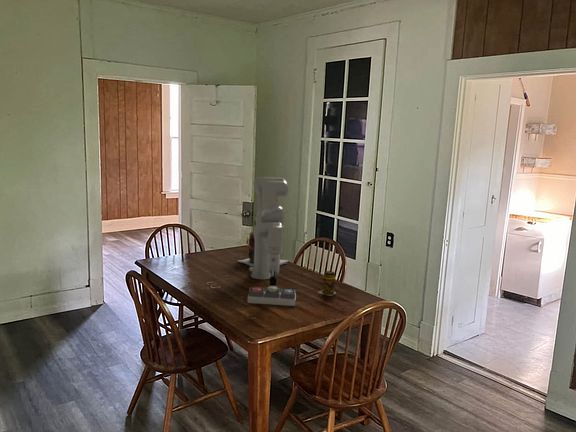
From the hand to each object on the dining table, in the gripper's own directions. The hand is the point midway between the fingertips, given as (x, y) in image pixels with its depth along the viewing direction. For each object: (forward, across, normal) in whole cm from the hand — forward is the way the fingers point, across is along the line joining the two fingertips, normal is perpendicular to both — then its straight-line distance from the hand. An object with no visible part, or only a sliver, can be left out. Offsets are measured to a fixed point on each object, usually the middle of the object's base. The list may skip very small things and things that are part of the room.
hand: (272, 284), depth 242 cm
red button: (+5, 0, +8) cm, 9 cm away
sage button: (+4, 0, 0) cm, 4 cm away
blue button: (+5, 0, -8) cm, 9 cm away
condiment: (+9, +18, -29) cm, 35 cm away
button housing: (+9, 0, 0) cm, 9 cm away
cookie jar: (+8, +70, +11) cm, 71 cm away
